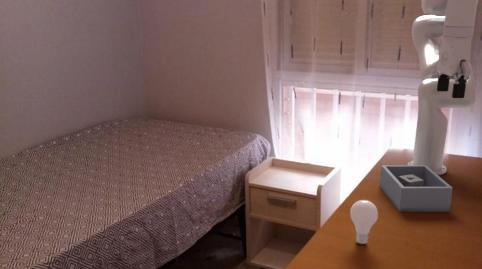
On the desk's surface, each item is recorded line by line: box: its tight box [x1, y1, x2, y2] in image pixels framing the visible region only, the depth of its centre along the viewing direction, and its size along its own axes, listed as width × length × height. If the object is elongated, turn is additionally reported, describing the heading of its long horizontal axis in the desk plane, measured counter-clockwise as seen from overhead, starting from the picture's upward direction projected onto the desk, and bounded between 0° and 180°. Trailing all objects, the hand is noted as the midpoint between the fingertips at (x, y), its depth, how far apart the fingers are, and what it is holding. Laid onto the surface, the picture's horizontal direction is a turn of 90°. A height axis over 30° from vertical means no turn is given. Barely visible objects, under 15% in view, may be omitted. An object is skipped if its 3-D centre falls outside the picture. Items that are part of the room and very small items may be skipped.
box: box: [379, 164, 454, 213], centre depth 133 cm, size 18×14×7 cm
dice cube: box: [398, 174, 424, 187], centre depth 134 cm, size 5×5×5 cm
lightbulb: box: [349, 199, 379, 245], centre depth 108 cm, size 6×6×11 cm
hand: (449, 94), depth 130 cm, fingers open, 9 cm apart
